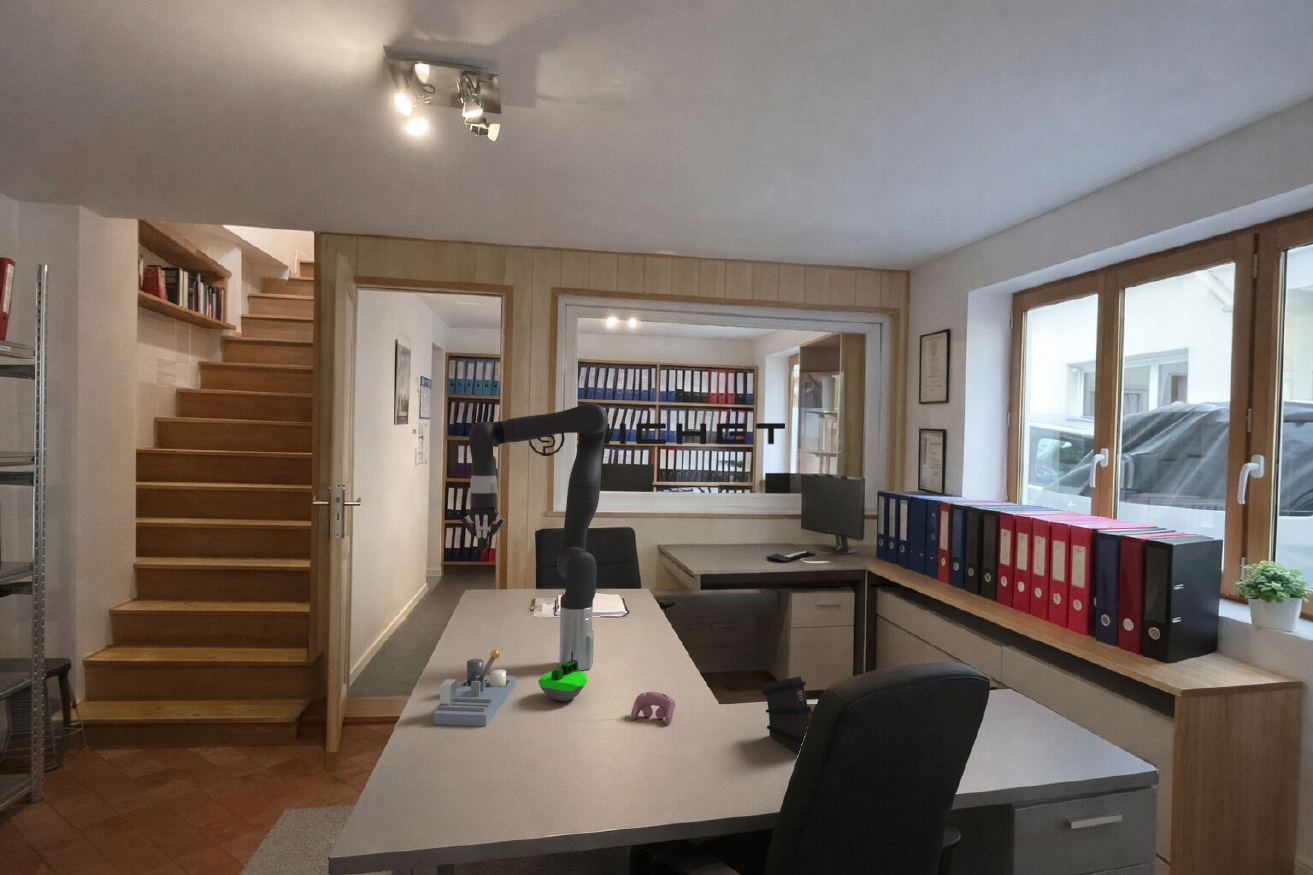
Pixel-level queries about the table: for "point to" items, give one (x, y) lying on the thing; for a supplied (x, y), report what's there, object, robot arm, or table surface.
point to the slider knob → (448, 692)
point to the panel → (474, 703)
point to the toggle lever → (488, 665)
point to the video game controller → (656, 699)
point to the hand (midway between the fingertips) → (482, 550)
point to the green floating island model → (563, 681)
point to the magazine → (787, 711)
